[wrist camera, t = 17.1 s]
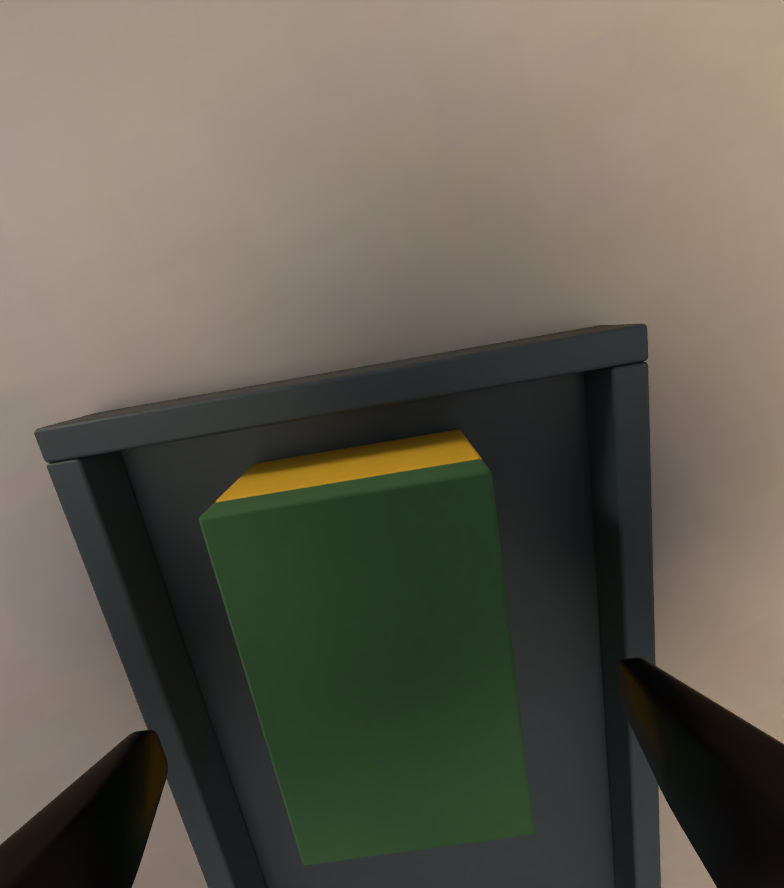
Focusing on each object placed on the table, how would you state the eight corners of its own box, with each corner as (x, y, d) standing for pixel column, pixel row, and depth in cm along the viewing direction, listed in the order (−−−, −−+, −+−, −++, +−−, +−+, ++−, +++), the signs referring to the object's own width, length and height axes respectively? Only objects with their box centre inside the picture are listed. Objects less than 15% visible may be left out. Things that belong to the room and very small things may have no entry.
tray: (632, 942, 17) (665, 1026, 15) (291, 986, 17) (278, 1073, 15) (601, 324, 11) (649, 322, 9) (93, 413, 12) (30, 430, 10)
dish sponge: (498, 708, 13) (535, 836, 10) (323, 734, 14) (302, 868, 10) (460, 428, 11) (491, 468, 8) (252, 463, 11) (195, 517, 8)
